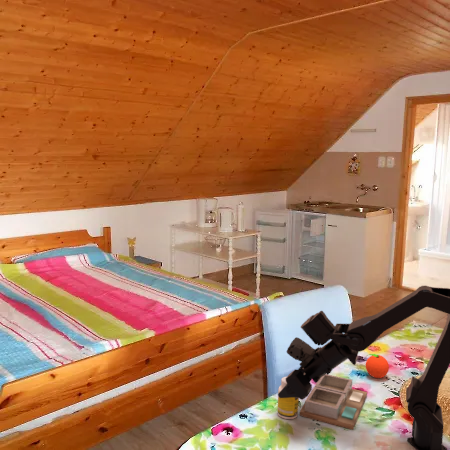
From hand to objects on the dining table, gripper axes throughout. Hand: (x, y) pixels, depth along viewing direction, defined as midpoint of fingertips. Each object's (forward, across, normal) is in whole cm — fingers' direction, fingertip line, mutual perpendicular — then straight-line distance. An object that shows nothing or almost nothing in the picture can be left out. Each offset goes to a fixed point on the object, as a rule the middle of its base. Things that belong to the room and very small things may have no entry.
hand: (285, 388), depth 126 cm
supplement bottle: (+4, 0, +6) cm, 7 cm away
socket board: (-3, -10, +13) cm, 17 cm away
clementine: (-8, -33, +18) cm, 38 cm away
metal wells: (-3, -10, +11) cm, 15 cm away
